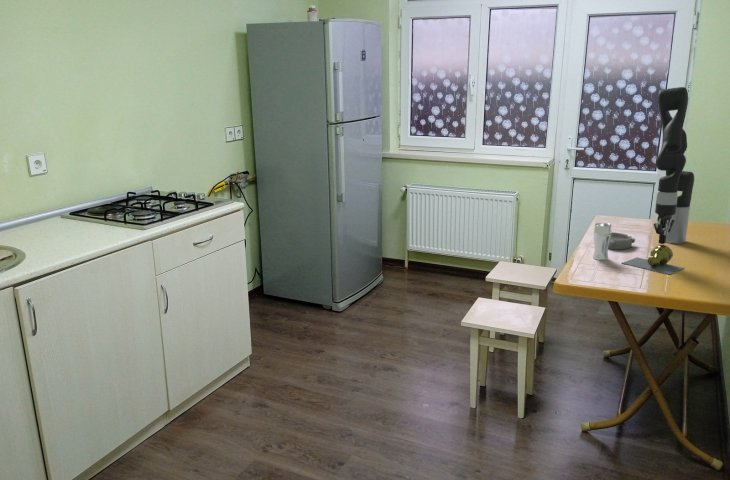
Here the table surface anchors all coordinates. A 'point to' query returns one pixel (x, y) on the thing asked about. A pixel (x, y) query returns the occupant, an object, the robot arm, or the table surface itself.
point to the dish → (620, 241)
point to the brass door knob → (660, 256)
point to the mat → (644, 264)
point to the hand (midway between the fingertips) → (661, 243)
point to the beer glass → (601, 240)
